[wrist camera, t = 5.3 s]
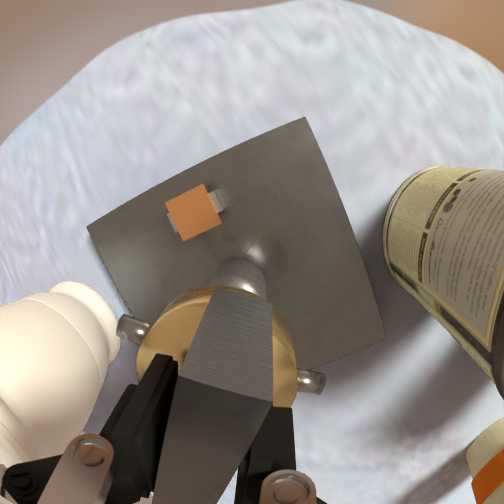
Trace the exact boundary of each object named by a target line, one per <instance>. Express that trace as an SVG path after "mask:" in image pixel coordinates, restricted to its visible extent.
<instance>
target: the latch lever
mask: <svg viewBox="0 0 504 504" xmlns="http://www.w3.org/2000/svg"><path fill="white" fill-rule="evenodd" d="M116 335H117V336H119V337H121V338H124V339H126V340H129V341H131V342H134V343H136V344H139V345H141V346H140V348H139V351H138V355H137V360H136V369H137V376H138V379H139V382H140V381H141V379H142V377H143V375H144V374H145V372H146V370H147V368H148V366H149V365H150V363H151V361H152V359H153V358H154V356H155V354H156V353H159V354H164V355H170V356H172V357H173V360H175V361H178V377H177V382H176V386H175V391H174V395H173V400H172V404H171V409H170V413H169V418H168V423H167V427H166V432H165V437H164V442H163V447H162V452H161V457H160V462H159V467H158V473H157V478H156V483H155V489H154V494H153V500H152V504H217V502H218V501H219V499H220V497H221V496H222V494H223V492H224V491H225V489H226V487H227V486H228V484H229V482H230V481H231V479H232V477H233V475H234V474H235V472H236V470H237V469H238V467H239V465H240V463H241V462H242V460H243V458H244V456H245V454H246V453H247V451H248V449H249V447H250V445H251V444H252V442H253V440H254V438H255V436H256V434H257V432H258V431H259V429H260V427H261V425H262V423H263V421H264V419H265V417H266V415H267V413H268V411H269V409H270V407H271V405H272V403H273V406H274V407H289V408H290V407H291V406H292V404H293V402H294V400H295V397H296V393H297V391H299V392H304V393H309V394H314V395H320V394H321V392H322V391H323V388H324V385H325V374H324V373H319V372H315V371H310V370H306V369H302V368H297V367H296V360H295V352H294V344H293V338H292V334H291V331H290V328H289V326H288V324H287V322H286V321H285V319H284V318H283V316H282V315H281V314H280V312H279V311H278V310H277V309H276V308H275V307H274V306H273V305H272V304H271V303H269V302H268V301H266V300H265V299H263V298H262V297H260V296H258V295H256V294H254V293H252V292H250V291H247V290H244V289H241V288H237V287H233V286H225V285H210V286H203V287H199V288H195V289H192V290H189V291H187V292H185V293H183V294H181V295H180V296H178V297H177V298H175V299H174V300H173V301H172V302H171V303H170V304H169V305H168V306H167V307H166V308H165V309H164V311H163V312H162V314H161V315H160V317H159V318H158V320H157V321H156V323H155V324H154V325H153V324H150V323H147V322H144V321H142V320H139V319H136V318H134V317H131V316H128V315H126V314H123V315H122V316H121V317H120V319H119V322H118V324H117V328H116Z"/></svg>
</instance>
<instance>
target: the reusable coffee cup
mask: <svg viewBox="0 0 504 504" xmlns="http://www.w3.org/2000/svg"><path fill="white" fill-rule="evenodd" d="M465 456H466V460H467V463H468V466H469V469H470V472H471V475H472V478H473V480H472V483H471V485H472V489H473V492H474V496H475V500H476V504H504V418H502V419H500V420H498V421H496V422H495V423H493V424H492V425H490V426H489V427H488V428H487V429H485V430H484V431H483V432H482V433H481V434H480V435H479V436H478V437H477V438H476V439H475V440H474V441H473V442H472V444H471V445H470V446H469V448H468V450H467V452H466V455H465Z"/></svg>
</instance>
